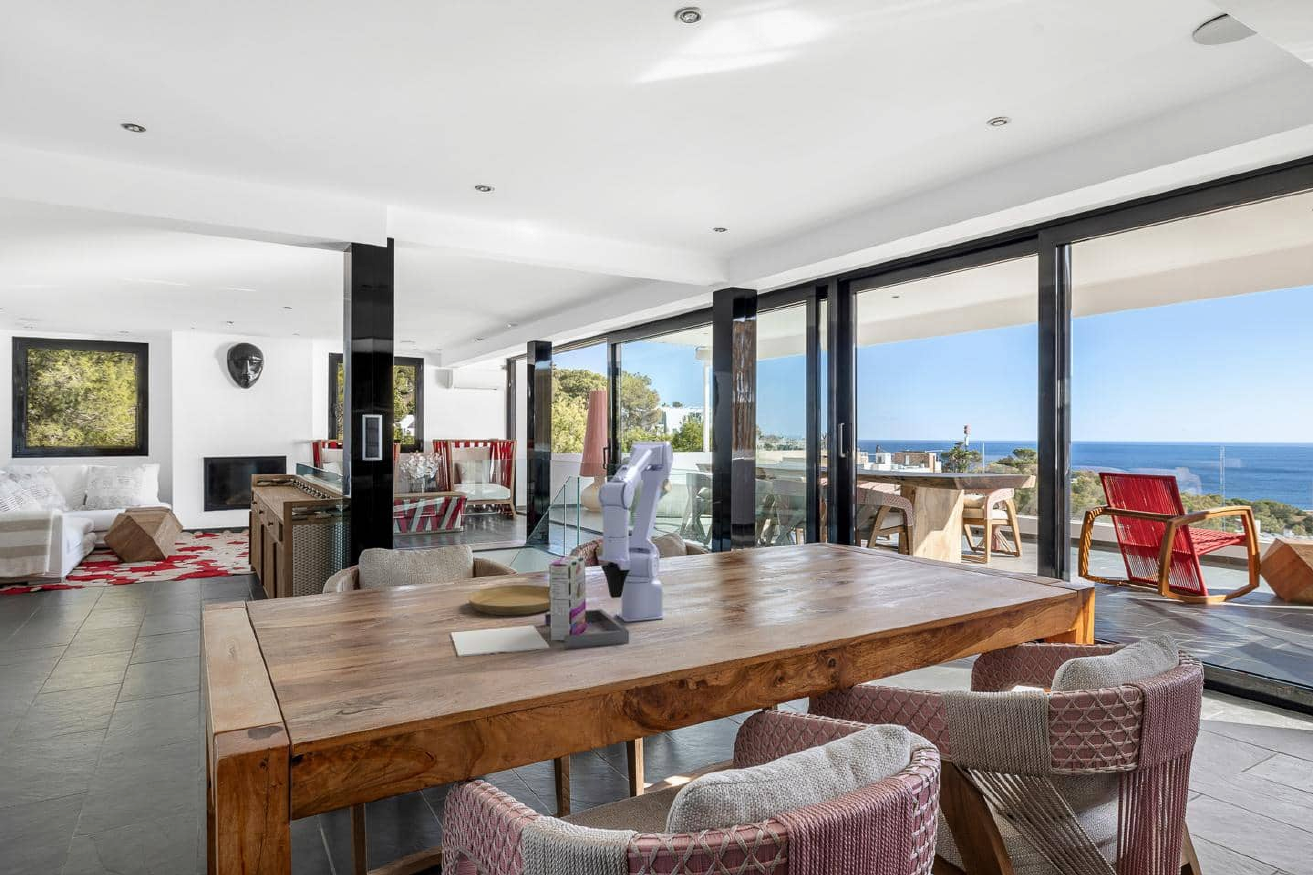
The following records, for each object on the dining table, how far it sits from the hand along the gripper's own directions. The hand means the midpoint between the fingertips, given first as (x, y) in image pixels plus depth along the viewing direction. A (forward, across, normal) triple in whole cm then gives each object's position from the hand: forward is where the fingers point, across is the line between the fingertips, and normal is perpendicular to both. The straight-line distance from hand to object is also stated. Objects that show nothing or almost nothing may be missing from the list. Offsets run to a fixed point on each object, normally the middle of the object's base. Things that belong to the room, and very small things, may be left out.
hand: (615, 597), depth 167 cm
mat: (+7, 0, -26) cm, 27 cm away
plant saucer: (+8, -32, -17) cm, 37 cm away
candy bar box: (+8, 0, -11) cm, 13 cm away
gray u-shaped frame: (+7, 0, -7) cm, 10 cm away
